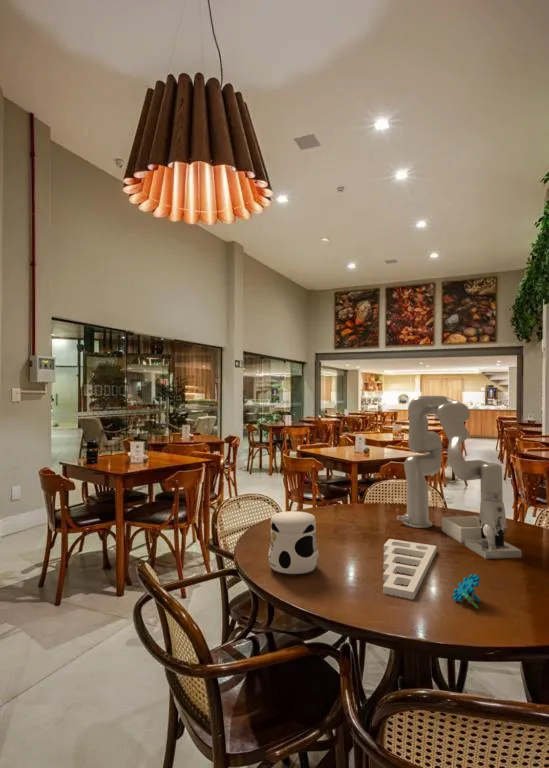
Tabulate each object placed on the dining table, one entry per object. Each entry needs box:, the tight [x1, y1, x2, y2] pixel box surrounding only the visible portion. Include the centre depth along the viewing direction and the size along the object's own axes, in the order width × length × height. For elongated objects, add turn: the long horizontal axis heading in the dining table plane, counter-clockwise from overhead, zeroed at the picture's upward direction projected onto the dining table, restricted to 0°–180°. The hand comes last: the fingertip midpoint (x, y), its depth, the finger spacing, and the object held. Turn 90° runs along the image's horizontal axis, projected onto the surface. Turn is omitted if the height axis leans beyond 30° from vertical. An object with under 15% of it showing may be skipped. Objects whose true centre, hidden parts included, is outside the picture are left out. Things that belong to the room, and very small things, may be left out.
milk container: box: [267, 510, 320, 576], centre depth 153 cm, size 17×17×18 cm
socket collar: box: [464, 539, 523, 560], centre depth 170 cm, size 14×14×2 cm
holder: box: [382, 538, 437, 600], centre depth 155 cm, size 45×18×3 cm, turn 152°
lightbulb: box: [483, 524, 500, 549], centre depth 170 cm, size 6×6×11 cm
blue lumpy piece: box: [451, 573, 481, 610], centre depth 129 cm, size 11×6×10 cm
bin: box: [441, 515, 487, 544], centre depth 188 cm, size 16×16×6 cm
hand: (492, 541), depth 170 cm, fingers open, 8 cm apart
